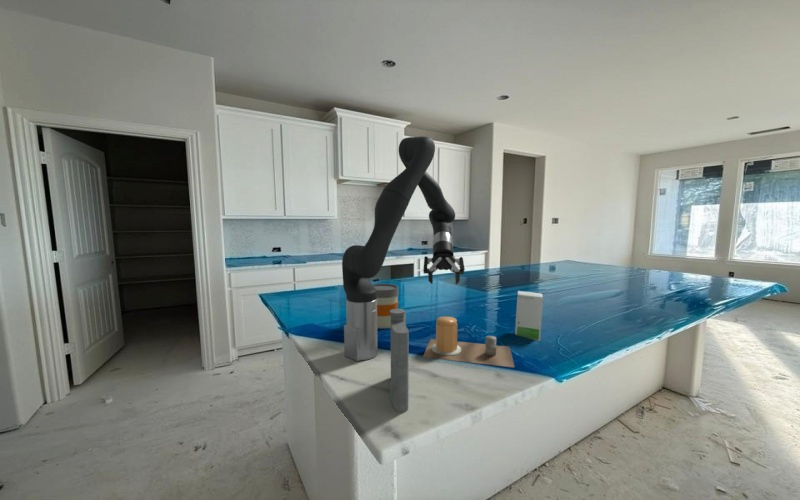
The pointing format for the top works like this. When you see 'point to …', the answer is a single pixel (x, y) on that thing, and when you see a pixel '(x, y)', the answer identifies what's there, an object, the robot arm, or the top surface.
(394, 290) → the reusable coffee cup
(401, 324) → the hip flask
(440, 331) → the cap
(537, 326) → the skincare box
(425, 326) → the top surface
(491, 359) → the post board
